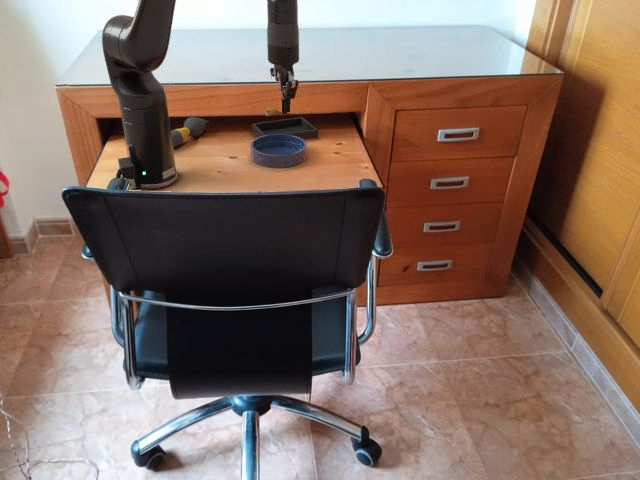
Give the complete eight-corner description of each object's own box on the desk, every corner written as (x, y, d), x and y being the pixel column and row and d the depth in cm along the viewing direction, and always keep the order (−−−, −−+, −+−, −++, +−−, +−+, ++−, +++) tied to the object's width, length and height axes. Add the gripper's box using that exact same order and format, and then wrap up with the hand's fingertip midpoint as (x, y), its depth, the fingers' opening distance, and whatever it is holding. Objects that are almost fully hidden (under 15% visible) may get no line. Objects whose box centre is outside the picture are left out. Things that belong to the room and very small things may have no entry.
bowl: (262, 173, 121) (261, 159, 119) (243, 152, 131) (242, 138, 129) (315, 164, 126) (315, 150, 124) (293, 144, 136) (293, 130, 134)
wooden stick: (267, 116, 134) (266, 109, 134) (264, 114, 136) (264, 107, 135) (303, 110, 138) (303, 104, 137) (301, 109, 139) (301, 102, 138)
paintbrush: (164, 159, 126) (161, 139, 123) (148, 155, 128) (144, 135, 125) (213, 132, 141) (211, 113, 139) (197, 128, 143) (196, 110, 140)
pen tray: (265, 147, 134) (265, 137, 132) (252, 132, 141) (251, 123, 140) (317, 138, 139) (317, 129, 137) (302, 125, 147) (302, 116, 145)
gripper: (258, 36, 131) (261, 105, 141) (278, 49, 121) (280, 123, 130) (286, 34, 134) (288, 102, 143) (309, 46, 124) (308, 119, 133)
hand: (284, 112), depth 137 cm, fingers closed on wooden stick, 1 cm apart
